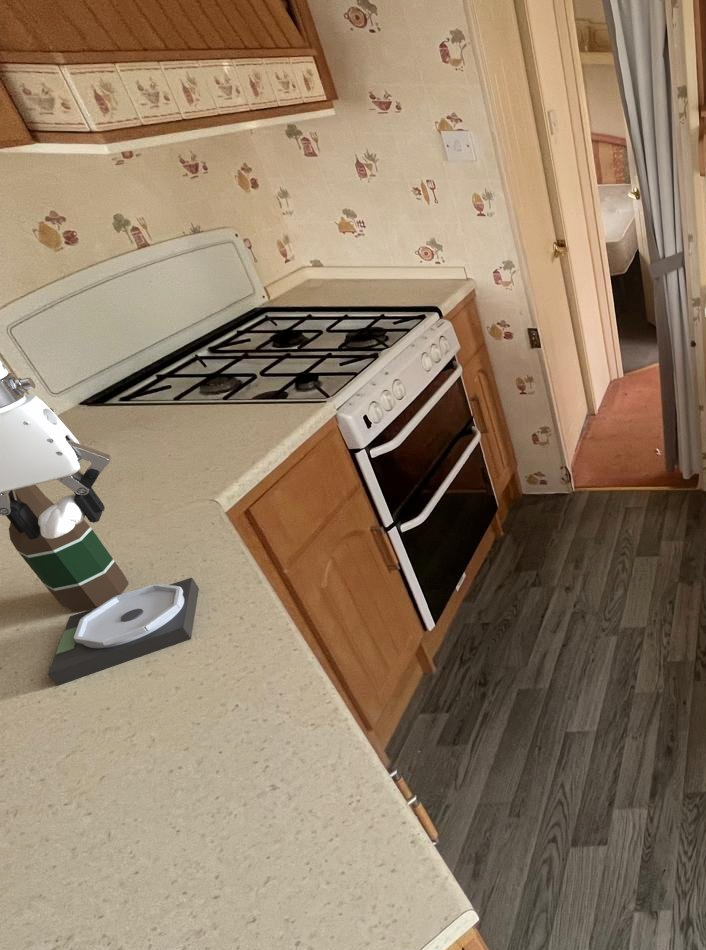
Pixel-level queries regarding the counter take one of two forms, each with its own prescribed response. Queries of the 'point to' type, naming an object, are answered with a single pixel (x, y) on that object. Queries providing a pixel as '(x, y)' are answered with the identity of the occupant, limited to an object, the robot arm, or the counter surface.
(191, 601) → the scale
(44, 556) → the beer bottle
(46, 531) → the dumpling
